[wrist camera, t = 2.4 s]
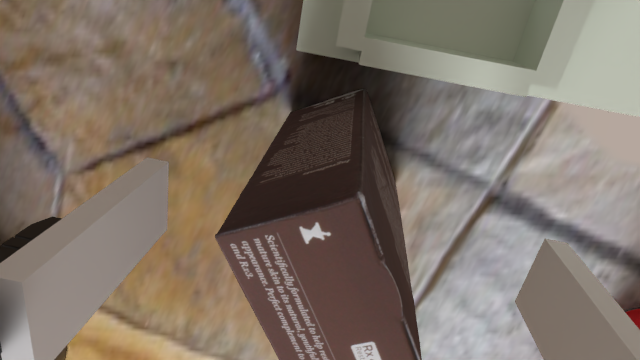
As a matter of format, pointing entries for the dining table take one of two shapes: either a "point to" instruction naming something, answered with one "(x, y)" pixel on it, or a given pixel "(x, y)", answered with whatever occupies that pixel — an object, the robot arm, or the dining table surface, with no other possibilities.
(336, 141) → the box
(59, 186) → the dining table surface
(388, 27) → the pale green holder tray
